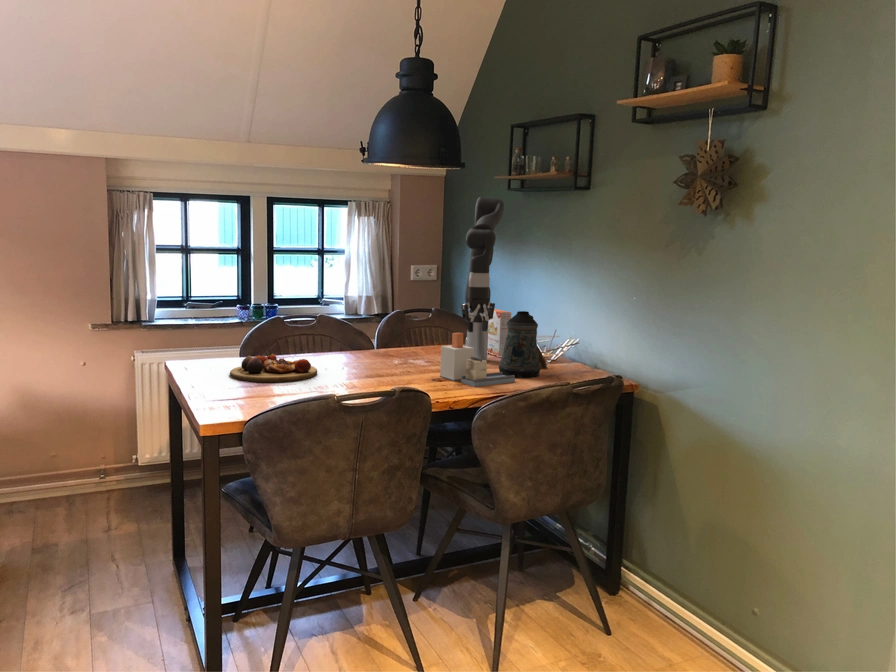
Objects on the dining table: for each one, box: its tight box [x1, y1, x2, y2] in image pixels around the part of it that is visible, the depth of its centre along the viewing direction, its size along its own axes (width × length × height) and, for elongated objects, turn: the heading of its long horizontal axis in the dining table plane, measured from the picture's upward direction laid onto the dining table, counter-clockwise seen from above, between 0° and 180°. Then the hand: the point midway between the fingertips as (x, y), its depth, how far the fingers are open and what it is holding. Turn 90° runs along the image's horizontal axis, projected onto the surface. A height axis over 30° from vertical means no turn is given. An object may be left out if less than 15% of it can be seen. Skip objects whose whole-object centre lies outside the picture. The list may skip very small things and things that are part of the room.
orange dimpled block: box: [451, 332, 464, 348], centre depth 266 cm, size 3×3×9 cm
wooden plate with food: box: [229, 352, 318, 383], centre depth 264 cm, size 32×32×8 cm
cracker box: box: [488, 308, 512, 356], centre depth 323 cm, size 14×6×21 cm, turn 25°
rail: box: [460, 371, 516, 388], centre depth 262 cm, size 8×19×2 cm, turn 125°
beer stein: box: [498, 310, 541, 379], centre depth 279 cm, size 16×19×25 cm
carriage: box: [466, 357, 488, 381], centre depth 258 cm, size 6×5×8 cm
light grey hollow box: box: [439, 344, 474, 382], centre depth 267 cm, size 9×9×12 cm
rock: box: [537, 345, 548, 370], centre depth 297 cm, size 11×9×10 cm
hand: (477, 331), depth 256 cm, fingers open, 5 cm apart
